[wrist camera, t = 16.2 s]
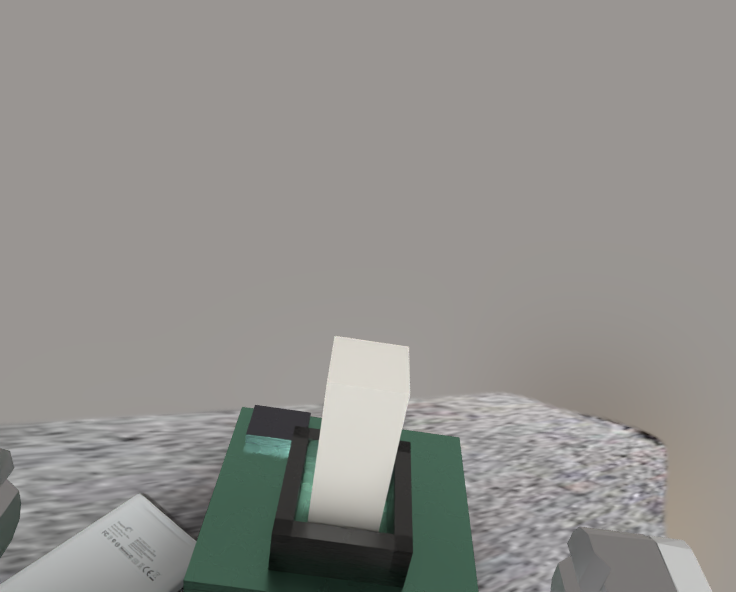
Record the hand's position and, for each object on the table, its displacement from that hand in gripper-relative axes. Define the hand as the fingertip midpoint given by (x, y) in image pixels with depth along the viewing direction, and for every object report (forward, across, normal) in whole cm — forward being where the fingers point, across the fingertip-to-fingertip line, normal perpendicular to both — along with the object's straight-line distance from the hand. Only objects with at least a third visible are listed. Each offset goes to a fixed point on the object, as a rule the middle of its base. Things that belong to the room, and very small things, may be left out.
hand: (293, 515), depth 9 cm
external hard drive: (+19, -13, -33) cm, 40 cm away
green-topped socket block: (+21, +2, -32) cm, 38 cm away
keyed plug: (+19, +2, -23) cm, 30 cm away
